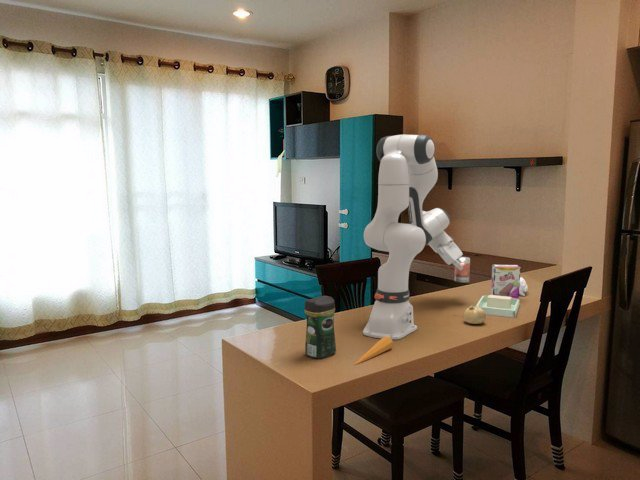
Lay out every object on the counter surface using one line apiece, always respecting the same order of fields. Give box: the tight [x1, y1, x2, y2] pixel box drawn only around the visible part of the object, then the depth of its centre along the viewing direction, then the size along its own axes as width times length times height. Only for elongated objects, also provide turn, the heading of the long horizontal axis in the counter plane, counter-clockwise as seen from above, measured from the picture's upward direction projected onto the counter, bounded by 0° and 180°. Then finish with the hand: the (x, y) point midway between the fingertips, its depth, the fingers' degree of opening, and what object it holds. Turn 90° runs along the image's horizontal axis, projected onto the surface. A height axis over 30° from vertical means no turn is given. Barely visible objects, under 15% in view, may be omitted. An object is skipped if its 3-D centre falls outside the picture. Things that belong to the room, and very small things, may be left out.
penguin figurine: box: [519, 276, 529, 297], centre depth 233 cm, size 6×8×12 cm
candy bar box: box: [490, 264, 522, 299], centre depth 218 cm, size 11×5×16 cm, turn 84°
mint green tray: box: [474, 295, 520, 319], centre depth 205 cm, size 20×15×4 cm
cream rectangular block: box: [487, 294, 511, 309], centre depth 209 cm, size 5×9×4 cm, turn 64°
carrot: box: [354, 336, 394, 366], centre depth 156 cm, size 20×4×4 cm, turn 140°
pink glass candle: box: [454, 256, 471, 283], centre depth 211 cm, size 6×6×10 cm
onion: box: [463, 305, 487, 325], centre depth 189 cm, size 8×8×7 cm
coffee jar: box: [304, 295, 337, 359], centre depth 157 cm, size 10×8×19 cm
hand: (463, 268), depth 211 cm, fingers closed on pink glass candle, 6 cm apart
